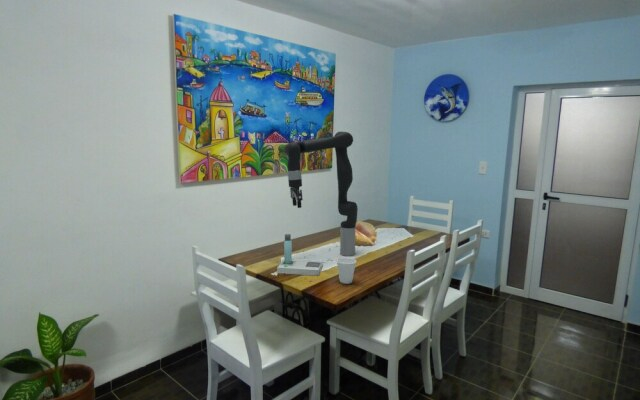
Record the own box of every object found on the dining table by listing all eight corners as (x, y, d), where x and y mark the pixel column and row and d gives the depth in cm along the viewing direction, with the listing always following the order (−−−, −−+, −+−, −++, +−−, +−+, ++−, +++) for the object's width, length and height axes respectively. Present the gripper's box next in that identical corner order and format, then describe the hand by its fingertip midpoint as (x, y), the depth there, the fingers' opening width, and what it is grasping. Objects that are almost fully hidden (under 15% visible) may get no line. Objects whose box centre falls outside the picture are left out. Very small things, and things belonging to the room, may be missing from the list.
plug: (285, 267, 208) (285, 233, 205) (292, 267, 208) (292, 234, 205) (283, 269, 204) (283, 235, 201) (290, 269, 204) (290, 235, 201)
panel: (284, 263, 214) (284, 257, 214) (322, 265, 211) (322, 259, 210) (277, 273, 199) (277, 266, 198) (318, 275, 195) (318, 269, 195)
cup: (332, 279, 190) (333, 258, 188) (350, 277, 194) (351, 256, 192) (340, 286, 181) (341, 264, 179) (359, 284, 184) (359, 262, 183)
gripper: (305, 178, 206) (307, 207, 208) (297, 176, 219) (299, 204, 222) (292, 180, 203) (294, 209, 206) (284, 178, 216) (287, 205, 219)
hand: (297, 206), depth 214 cm, fingers open, 8 cm apart
